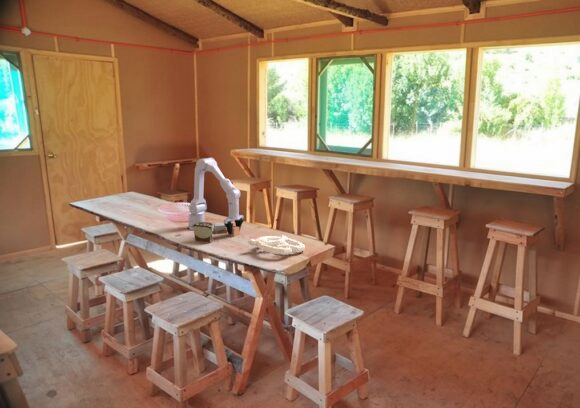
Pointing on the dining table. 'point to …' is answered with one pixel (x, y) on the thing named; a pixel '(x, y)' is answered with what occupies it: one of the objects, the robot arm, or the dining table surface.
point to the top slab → (219, 226)
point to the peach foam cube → (235, 231)
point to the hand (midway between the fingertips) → (233, 232)
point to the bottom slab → (220, 231)
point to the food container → (203, 232)
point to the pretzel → (278, 244)
